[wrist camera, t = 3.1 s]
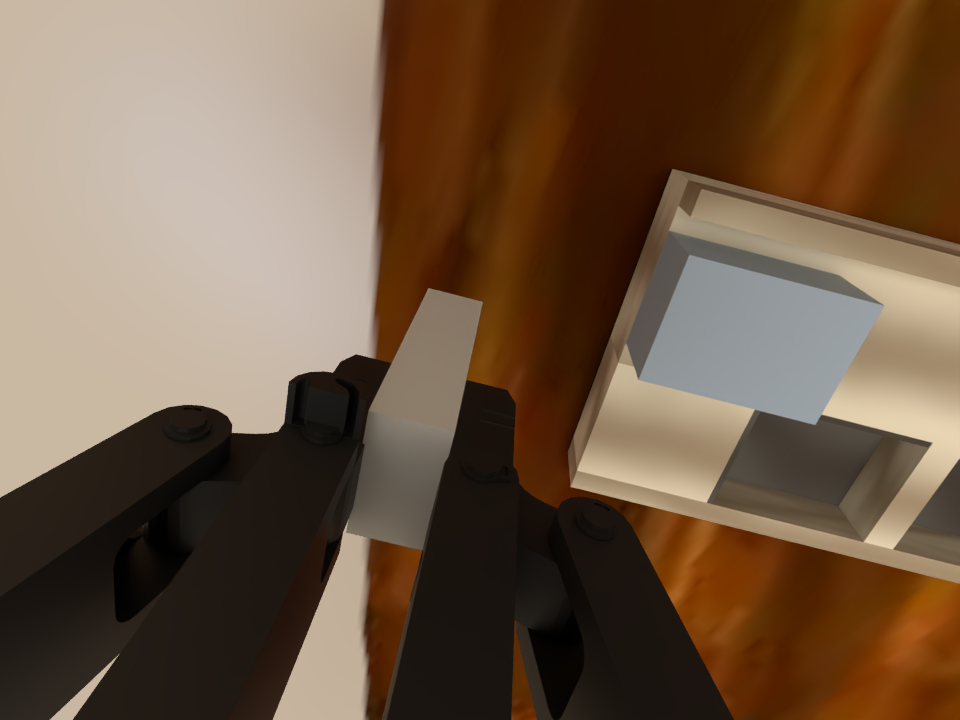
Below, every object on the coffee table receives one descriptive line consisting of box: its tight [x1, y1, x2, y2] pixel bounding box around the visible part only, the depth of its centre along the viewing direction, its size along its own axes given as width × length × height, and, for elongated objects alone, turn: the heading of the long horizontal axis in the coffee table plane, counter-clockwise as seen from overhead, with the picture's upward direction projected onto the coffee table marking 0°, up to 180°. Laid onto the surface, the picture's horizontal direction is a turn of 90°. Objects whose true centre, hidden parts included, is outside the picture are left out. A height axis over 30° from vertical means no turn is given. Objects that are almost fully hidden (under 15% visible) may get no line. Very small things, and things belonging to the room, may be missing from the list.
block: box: [626, 231, 884, 425], centre depth 23 cm, size 5×7×4 cm
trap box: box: [568, 169, 960, 583], centre depth 27 cm, size 15×29×5 cm, turn 77°
